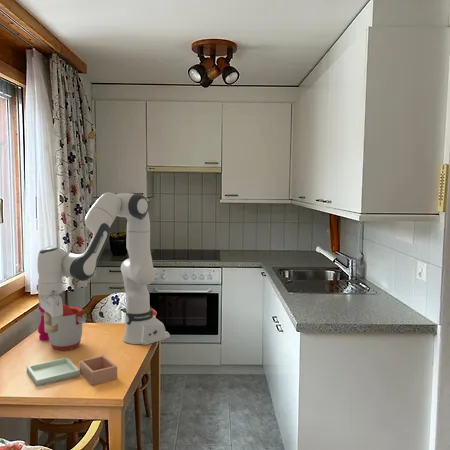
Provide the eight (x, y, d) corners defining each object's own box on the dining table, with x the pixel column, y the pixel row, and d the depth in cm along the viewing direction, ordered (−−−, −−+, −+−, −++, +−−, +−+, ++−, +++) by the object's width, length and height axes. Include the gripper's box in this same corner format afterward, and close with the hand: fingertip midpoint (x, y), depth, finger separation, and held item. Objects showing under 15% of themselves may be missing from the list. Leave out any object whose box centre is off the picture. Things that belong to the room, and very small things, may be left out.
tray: (67, 362, 191) (66, 357, 191) (79, 376, 178) (79, 370, 178) (26, 372, 182) (26, 366, 181) (37, 386, 169) (36, 380, 168)
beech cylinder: (56, 328, 182) (55, 310, 181) (59, 331, 178) (59, 313, 177) (43, 330, 179) (42, 312, 178) (46, 333, 175) (45, 316, 174)
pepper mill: (57, 336, 223) (56, 296, 221) (48, 341, 216) (46, 300, 214) (44, 335, 225) (43, 295, 223) (35, 340, 218) (33, 299, 216)
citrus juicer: (76, 354, 201) (75, 310, 199) (40, 351, 204) (39, 308, 202) (92, 342, 216) (91, 300, 214) (59, 339, 219) (57, 299, 217)
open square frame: (103, 366, 187) (103, 355, 186) (117, 378, 176) (117, 366, 175) (79, 372, 181) (79, 360, 181) (92, 385, 170) (91, 372, 169)
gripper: (66, 292, 170) (67, 328, 171) (51, 282, 186) (52, 315, 188) (49, 295, 166) (50, 331, 168) (35, 284, 183) (36, 318, 184)
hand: (51, 323), depth 178 cm, fingers closed on beech cylinder, 5 cm apart
